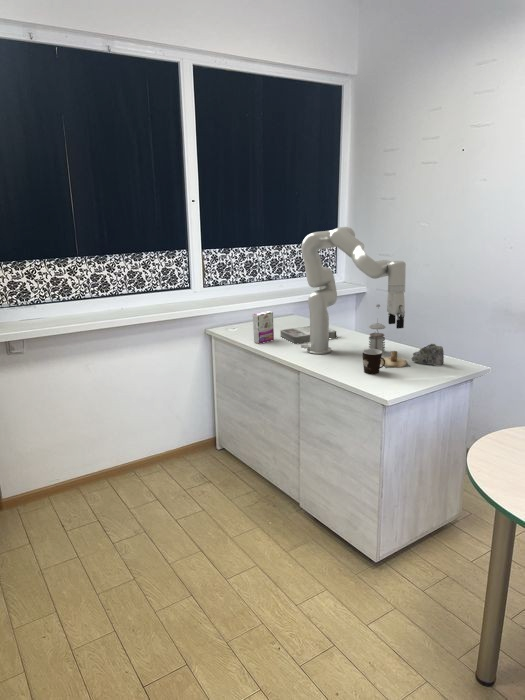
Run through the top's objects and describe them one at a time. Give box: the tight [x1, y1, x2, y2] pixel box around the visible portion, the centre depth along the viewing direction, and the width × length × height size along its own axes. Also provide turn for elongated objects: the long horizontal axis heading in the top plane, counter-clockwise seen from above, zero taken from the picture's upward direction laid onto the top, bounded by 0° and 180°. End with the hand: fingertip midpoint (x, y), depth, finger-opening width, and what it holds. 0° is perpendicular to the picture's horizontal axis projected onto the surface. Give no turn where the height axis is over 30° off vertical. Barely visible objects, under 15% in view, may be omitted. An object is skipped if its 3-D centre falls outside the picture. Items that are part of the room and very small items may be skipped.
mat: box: [380, 363, 412, 369], centre depth 235 cm, size 12×12×1 cm
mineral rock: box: [411, 343, 445, 367], centre depth 233 cm, size 13×11×10 cm
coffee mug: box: [361, 348, 385, 375], centre depth 221 cm, size 12×9×10 cm
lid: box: [380, 350, 408, 368], centre depth 234 cm, size 12×12×6 cm
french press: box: [368, 303, 386, 355], centre depth 249 cm, size 10×12×25 cm
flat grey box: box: [280, 325, 338, 345], centre depth 287 cm, size 18×27×4 cm
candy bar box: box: [252, 310, 275, 344], centre depth 279 cm, size 11×5×16 cm, turn 131°
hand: (395, 325), depth 231 cm, fingers open, 9 cm apart
